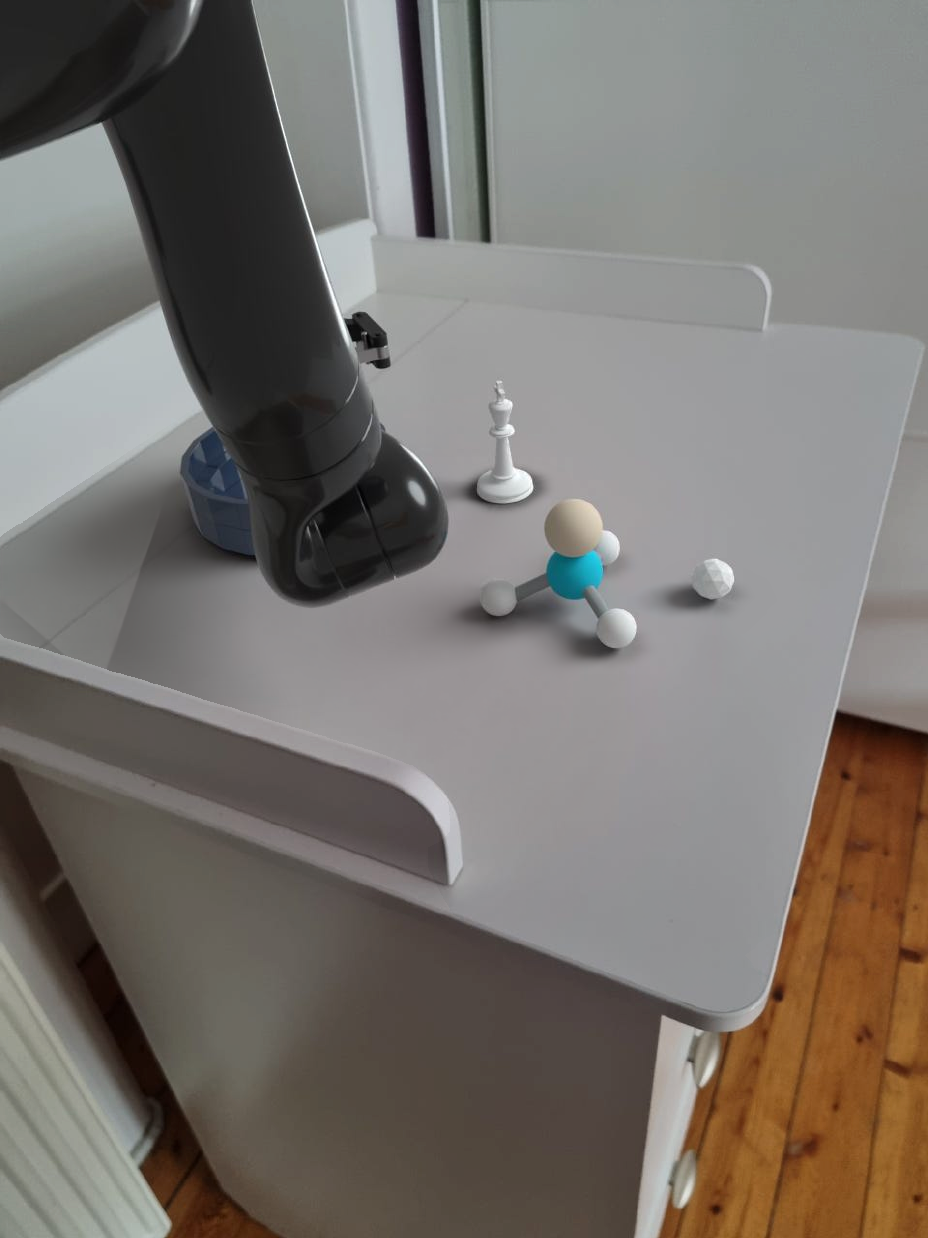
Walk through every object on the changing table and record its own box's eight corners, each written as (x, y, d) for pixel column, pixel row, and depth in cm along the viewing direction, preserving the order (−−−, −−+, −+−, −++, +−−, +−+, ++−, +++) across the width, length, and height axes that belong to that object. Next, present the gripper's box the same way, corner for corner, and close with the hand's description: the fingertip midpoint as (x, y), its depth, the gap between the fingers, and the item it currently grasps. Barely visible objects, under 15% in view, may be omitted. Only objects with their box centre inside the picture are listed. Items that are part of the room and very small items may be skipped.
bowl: (277, 588, 73) (262, 529, 70) (158, 514, 83) (140, 459, 80) (435, 493, 83) (429, 437, 79) (311, 437, 93) (301, 385, 89)
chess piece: (486, 508, 80) (479, 400, 74) (470, 481, 84) (461, 375, 78) (541, 496, 81) (538, 388, 75) (522, 469, 85) (518, 364, 78)
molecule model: (677, 643, 65) (686, 537, 59) (512, 682, 63) (506, 577, 58) (611, 550, 74) (614, 450, 69) (466, 582, 72) (457, 482, 67)
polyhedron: (696, 610, 68) (700, 576, 66) (686, 585, 70) (689, 551, 68) (736, 606, 68) (741, 572, 66) (724, 581, 70) (728, 548, 68)
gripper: (407, 331, 63) (363, 258, 76) (188, 370, 60) (182, 288, 73) (419, 433, 67) (376, 348, 80) (217, 473, 65) (206, 379, 78)
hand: (283, 320), depth 77 cm, fingers closed on lollipop, 6 cm apart
